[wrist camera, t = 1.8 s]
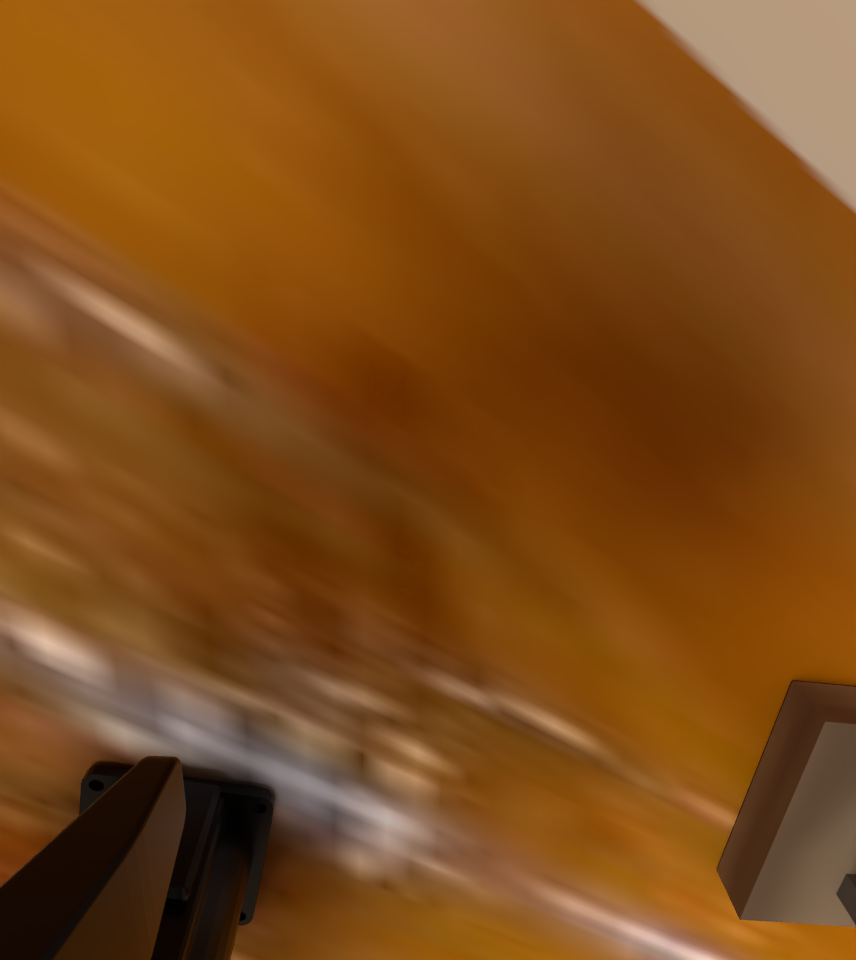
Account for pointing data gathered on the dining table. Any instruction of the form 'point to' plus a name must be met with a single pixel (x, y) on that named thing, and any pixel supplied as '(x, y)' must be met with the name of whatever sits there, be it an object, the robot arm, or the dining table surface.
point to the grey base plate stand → (800, 816)
